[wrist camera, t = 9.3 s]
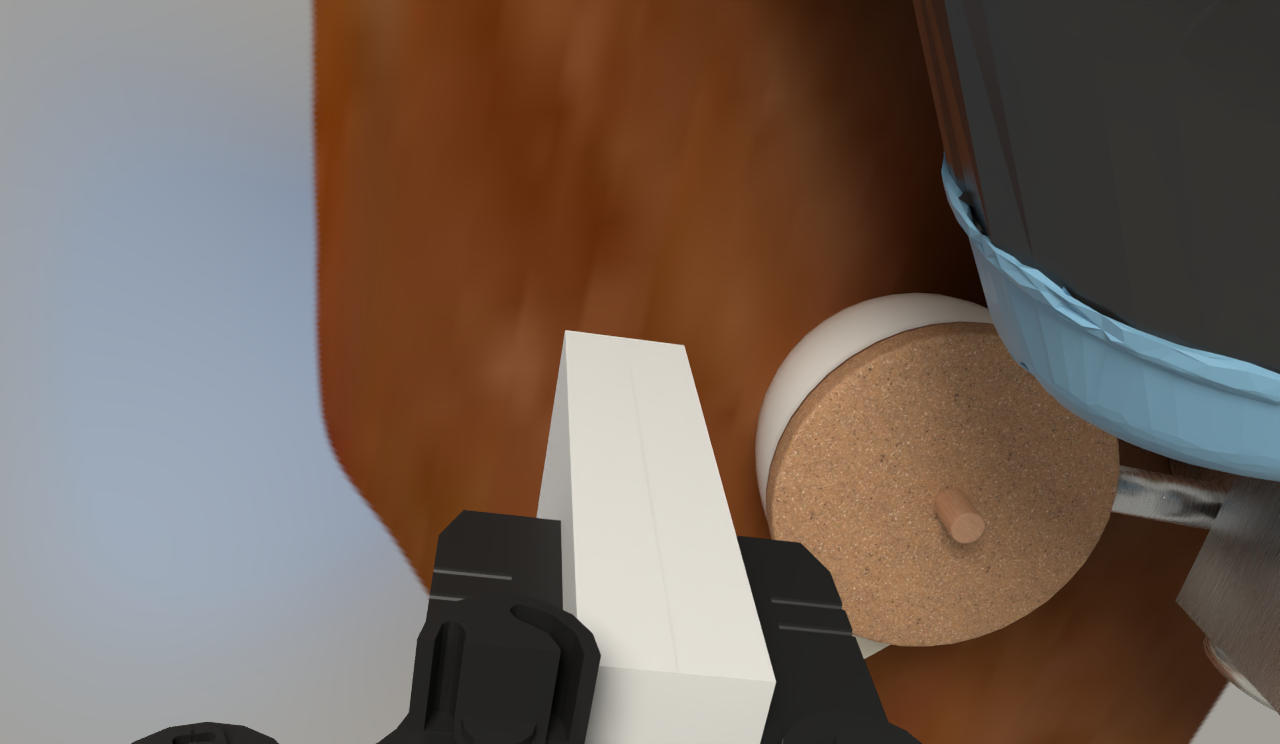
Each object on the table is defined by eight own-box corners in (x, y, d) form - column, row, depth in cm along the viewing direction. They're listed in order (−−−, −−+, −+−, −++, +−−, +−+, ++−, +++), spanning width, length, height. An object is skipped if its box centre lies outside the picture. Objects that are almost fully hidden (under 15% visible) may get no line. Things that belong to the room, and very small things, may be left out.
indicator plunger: (1059, 414, 41) (1102, 458, 38) (1232, 449, 42) (1288, 493, 39) (1024, 496, 42) (1064, 544, 39) (1195, 527, 43) (1246, 576, 40)
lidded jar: (897, 185, 40) (1007, 276, 31) (1076, 389, 44) (1218, 519, 35) (663, 398, 42) (705, 538, 33) (854, 575, 46) (936, 741, 37)
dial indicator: (1154, 369, 44) (1376, 541, 33) (1276, 395, 45) (1531, 570, 34) (1084, 527, 46) (1269, 736, 35) (1202, 549, 47) (1418, 758, 36)
